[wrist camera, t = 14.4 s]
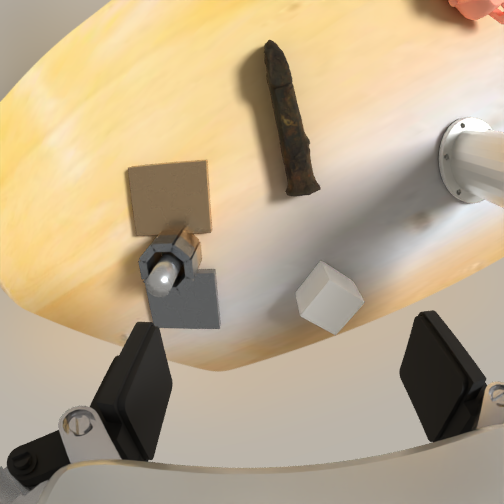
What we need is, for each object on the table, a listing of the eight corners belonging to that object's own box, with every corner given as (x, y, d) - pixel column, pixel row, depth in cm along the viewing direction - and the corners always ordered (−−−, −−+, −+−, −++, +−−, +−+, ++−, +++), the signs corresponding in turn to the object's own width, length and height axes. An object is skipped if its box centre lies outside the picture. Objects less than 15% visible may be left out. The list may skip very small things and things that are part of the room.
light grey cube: (352, 280, 44) (365, 302, 38) (327, 311, 46) (335, 335, 40) (320, 259, 42) (329, 280, 37) (294, 292, 44) (299, 316, 39)
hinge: (207, 159, 38) (199, 165, 32) (220, 323, 46) (216, 349, 41) (131, 166, 38) (112, 173, 32) (156, 323, 47) (145, 347, 41)
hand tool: (316, 188, 39) (324, 196, 35) (285, 193, 39) (288, 201, 35) (291, 42, 32) (295, 31, 28) (258, 46, 32) (258, 36, 28)
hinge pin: (186, 240, 42) (168, 273, 32) (189, 260, 43) (172, 297, 33) (166, 241, 42) (143, 274, 32) (169, 260, 43) (148, 297, 33)
